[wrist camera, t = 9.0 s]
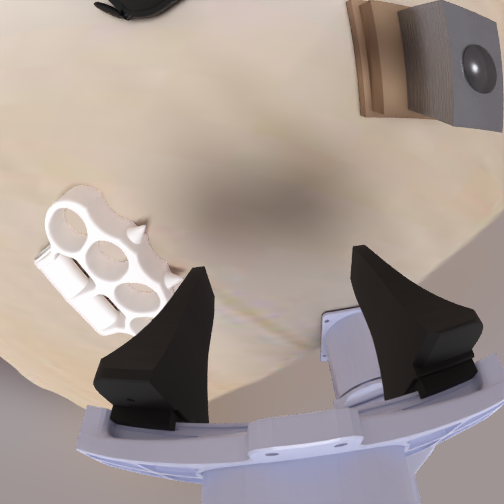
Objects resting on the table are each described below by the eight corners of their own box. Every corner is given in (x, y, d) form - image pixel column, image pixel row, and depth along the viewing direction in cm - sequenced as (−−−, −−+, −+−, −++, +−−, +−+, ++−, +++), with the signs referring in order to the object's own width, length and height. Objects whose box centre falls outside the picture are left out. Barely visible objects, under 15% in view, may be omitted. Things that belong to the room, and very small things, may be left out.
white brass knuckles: (26, 226, 22) (115, 155, 19) (120, 335, 32) (217, 307, 29) (9, 244, 20) (95, 169, 16) (112, 355, 29) (215, 332, 26)
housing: (448, 24, 10) (497, 22, 6) (455, 113, 14) (503, 133, 10) (396, 11, 10) (443, -1, 6) (407, 109, 14) (455, 127, 10)
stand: (452, 119, 17) (474, 128, 14) (360, 115, 17) (377, 122, 15) (445, 21, 11) (467, 19, 9) (346, 2, 12) (361, -8, 10)
